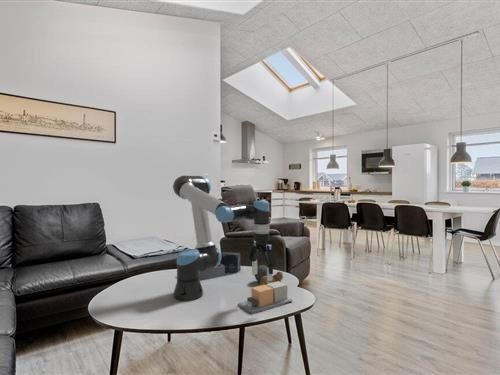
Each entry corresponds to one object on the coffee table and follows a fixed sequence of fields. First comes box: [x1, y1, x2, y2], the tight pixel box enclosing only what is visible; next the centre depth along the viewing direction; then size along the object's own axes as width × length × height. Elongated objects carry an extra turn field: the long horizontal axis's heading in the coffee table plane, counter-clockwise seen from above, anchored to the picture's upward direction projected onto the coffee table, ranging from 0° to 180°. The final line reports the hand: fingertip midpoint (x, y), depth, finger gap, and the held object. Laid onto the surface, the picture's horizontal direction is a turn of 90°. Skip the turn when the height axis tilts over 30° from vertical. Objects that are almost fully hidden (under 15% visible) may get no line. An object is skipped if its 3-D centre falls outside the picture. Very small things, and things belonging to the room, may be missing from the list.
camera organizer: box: [199, 263, 226, 281], centre depth 191 cm, size 16×22×6 cm
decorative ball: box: [253, 265, 268, 283], centre depth 176 cm, size 10×10×10 cm
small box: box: [219, 251, 242, 273], centre depth 201 cm, size 13×7×12 cm, turn 74°
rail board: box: [237, 281, 293, 315], centre depth 144 cm, size 12×24×8 cm, turn 124°
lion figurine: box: [258, 270, 284, 286], centre depth 166 cm, size 15×5×9 cm, turn 99°
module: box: [250, 284, 273, 307], centre depth 143 cm, size 7×8×7 cm
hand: (262, 277), depth 143 cm, fingers open, 12 cm apart
